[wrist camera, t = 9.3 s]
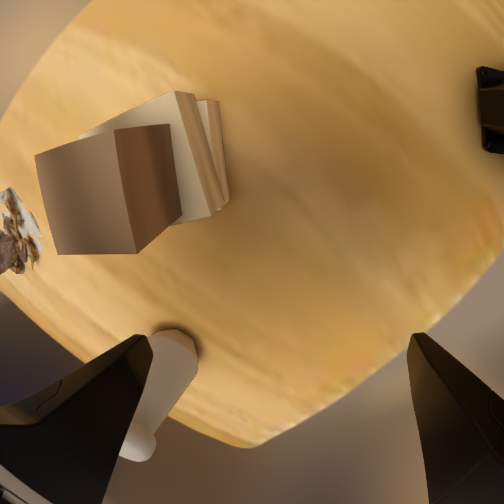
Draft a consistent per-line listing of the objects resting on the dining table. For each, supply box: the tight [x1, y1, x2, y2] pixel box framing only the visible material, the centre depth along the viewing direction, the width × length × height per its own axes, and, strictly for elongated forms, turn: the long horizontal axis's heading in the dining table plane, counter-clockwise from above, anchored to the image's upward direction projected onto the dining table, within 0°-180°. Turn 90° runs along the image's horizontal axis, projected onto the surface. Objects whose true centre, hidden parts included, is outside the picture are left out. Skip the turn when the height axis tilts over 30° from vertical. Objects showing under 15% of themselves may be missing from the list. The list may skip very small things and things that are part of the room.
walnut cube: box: [35, 124, 182, 255], centre depth 13 cm, size 5×5×5 cm
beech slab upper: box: [78, 91, 225, 226], centre depth 17 cm, size 7×7×3 cm
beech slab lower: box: [197, 100, 230, 211], centre depth 19 cm, size 7×7×3 cm
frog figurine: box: [0, 187, 43, 274], centre depth 26 cm, size 12×12×4 cm
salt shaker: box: [119, 329, 198, 462], centre depth 22 cm, size 6×6×13 cm
